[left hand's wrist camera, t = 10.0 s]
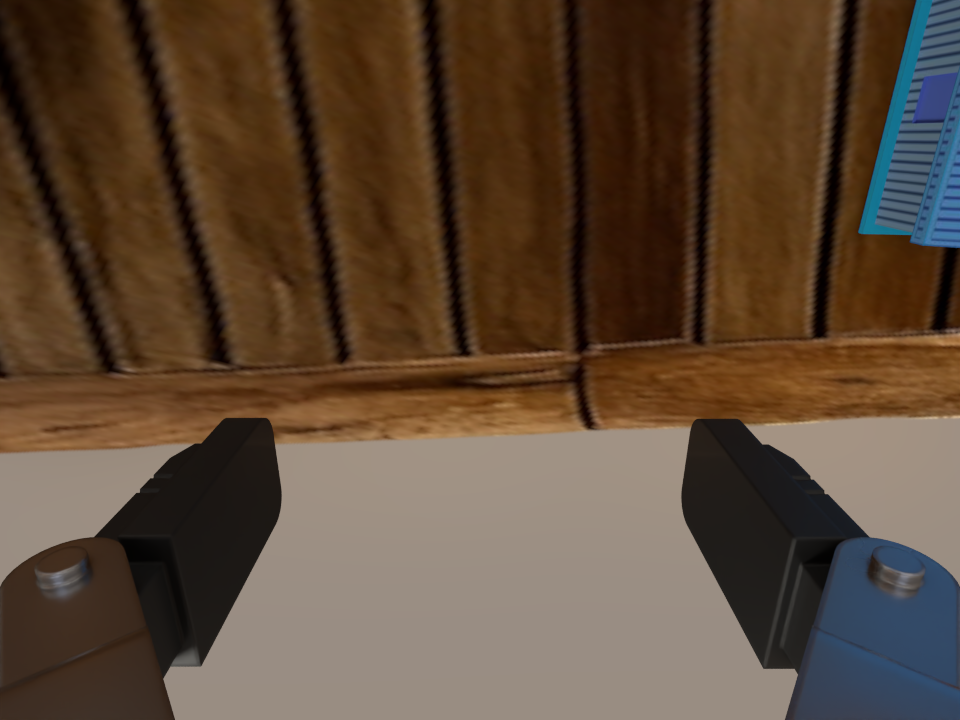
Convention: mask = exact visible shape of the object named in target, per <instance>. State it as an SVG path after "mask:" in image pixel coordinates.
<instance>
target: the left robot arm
mask: <svg viewBox="0 0 960 720" xmlns="http://www.w3.org/2000/svg"><path fill="white" fill-rule="evenodd" d="M281 497H282V494H281V484H280V477H279V470H278V463H277V456H276V449H275V442H274V435H273V429H272V425H271V423H270V421H269V420H268V419H267V418H225V419H224V420H222V421H221V423H220V424H219V425H218V426H217V427H216V428H215V429H214V430H213V431H212V432H211V434H210V435H209V436H208V437H207V438H206V439H205V440H204V441H203V442H202V444H194V445H192V446H190V447H188V448H187V449H185V450H183V451H182V452H180V453H178V454H176V455H174V456H173V457H171V458H170V459H169V460H168V461H167V462H166V463H165V464H164V465H163V466H162V467H161V468H160V469H159V470H158V471H157V472H156V473H155V474H154V478H151V479H149V480H148V482H147V483H146V484H145V485H144V486H143V487H142V488H141V489H140V493H136V494H135V495H134V496H133V497H132V498H131V499H130V500H129V501H128V502H127V503H126V504H125V505H124V507H123V508H122V509H121V510H120V511H119V512H118V513H117V514H116V515H115V516H114V517H113V518H112V519H111V520H110V521H109V522H108V523H107V524H106V525H105V526H104V527H103V528H102V529H101V530H100V531H99V533H98V534H97V535H96V536H95V537H90V538H82V539H77V540H72V541H69V542H65V543H62V544H59V545H56V546H53V547H51V548H49V549H46V550H44V551H42V552H40V553H38V554H36V555H34V556H32V557H31V558H29V559H28V560H26V561H24V562H23V563H21V564H20V565H19V566H18V567H16V568H15V569H14V570H13V571H12V572H11V573H10V574H9V575H8V576H7V577H6V578H5V580H4V581H3V582H2V584H1V586H0V720H175V718H174V715H173V711H172V708H171V704H170V701H169V697H168V694H167V691H166V687H165V684H164V680H163V678H164V676H165V675H166V673H167V671H168V670H169V668H170V666H202V664H203V662H204V660H205V658H206V656H207V654H208V652H209V650H210V648H211V647H212V645H213V643H214V641H215V639H216V637H217V635H218V633H219V631H220V629H221V628H222V626H223V624H224V622H225V620H226V618H227V616H228V614H229V612H230V610H231V608H232V607H233V605H234V603H235V601H236V599H237V597H238V595H239V593H240V591H241V589H242V588H243V586H244V584H245V582H246V580H247V578H248V576H249V574H250V572H251V570H252V568H253V567H254V565H255V563H256V561H257V559H258V557H259V555H260V553H261V551H262V549H263V548H264V546H265V544H266V542H267V540H268V538H269V536H270V534H271V532H272V530H273V529H274V527H275V525H276V522H277V520H278V517H279V513H280V509H281ZM682 509H683V515H684V518H685V521H686V524H687V526H688V527H689V529H690V531H691V533H692V535H693V537H694V539H695V541H696V543H697V544H698V546H699V548H700V550H701V552H702V554H703V556H704V558H705V560H706V561H707V563H708V565H709V567H710V569H711V571H712V573H713V574H714V576H715V578H716V580H717V582H718V584H719V586H720V588H721V589H722V591H723V593H724V595H725V597H726V599H727V601H728V603H729V605H730V607H731V608H732V610H733V612H734V614H735V616H736V618H737V620H738V622H739V623H740V625H741V627H742V629H743V631H744V633H745V635H746V637H747V638H748V640H749V642H750V644H751V646H752V648H753V650H754V652H755V654H756V655H757V657H758V659H759V661H760V663H761V665H762V667H763V668H764V669H795V670H796V672H797V674H798V677H797V680H796V684H795V687H794V691H793V694H792V697H791V701H790V704H789V708H788V711H787V715H786V718H785V720H960V586H959V584H958V582H957V581H956V580H955V578H954V577H953V576H952V575H951V574H950V573H949V572H948V571H947V570H946V569H945V568H944V567H942V566H941V565H940V564H939V563H937V562H936V561H934V560H933V559H931V558H929V557H928V556H926V555H924V554H922V553H920V552H918V551H916V550H914V549H912V548H909V547H907V546H904V545H901V544H898V543H895V542H891V541H888V540H883V539H878V538H870V537H869V536H868V535H867V534H866V533H865V532H864V531H863V530H862V529H861V528H860V527H859V526H858V525H857V524H856V523H855V522H854V521H853V520H852V519H851V518H850V517H849V516H848V515H847V513H846V512H845V511H844V510H843V509H842V508H841V507H840V506H839V505H838V504H837V503H836V502H835V501H834V500H833V499H832V498H831V497H830V496H829V495H828V494H824V490H823V489H822V488H821V487H820V486H819V485H818V484H817V483H816V482H815V481H814V480H811V479H810V475H809V474H808V473H807V472H806V471H805V470H804V469H803V468H802V467H801V466H800V465H799V464H798V463H797V462H796V461H795V460H794V459H793V458H791V457H789V456H787V455H786V454H784V453H782V452H780V451H779V450H777V449H775V448H774V447H772V446H770V445H762V444H761V443H760V441H759V440H758V439H757V438H756V437H755V436H754V435H753V434H752V433H751V432H750V431H749V429H748V428H747V427H746V426H745V425H744V424H743V423H742V422H741V421H740V420H738V419H696V420H695V421H694V422H693V424H692V427H691V431H690V437H689V444H688V451H687V458H686V465H685V471H684V478H683V485H682Z"/></svg>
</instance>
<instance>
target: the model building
mask: <svg viewBox="0 0 960 720" xmlns="http://www.w3.org/2000/svg"><path fill="white" fill-rule="evenodd" d="M858 233H861V234H894V235H912V236H911V239H910V242H911V243H915V244H919V245H924V246H940V247H957V248H960V0H916V4H915V8H914V12H913V16H912V20H911V24H910V28H909V32H908V36H907V40H906V44H905V48H904V52H903V56H902V60H901V64H900V68H899V72H898V76H897V80H896V84H895V88H894V92H893V96H892V100H891V104H890V108H889V112H888V116H887V120H886V124H885V128H884V132H883V136H882V140H881V144H880V148H879V152H878V156H877V160H876V164H875V168H874V172H873V176H872V180H871V184H870V188H869V192H868V196H867V200H866V204H865V208H864V212H863V216H862V220H861V224H860V228H859V232H858Z"/></svg>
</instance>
